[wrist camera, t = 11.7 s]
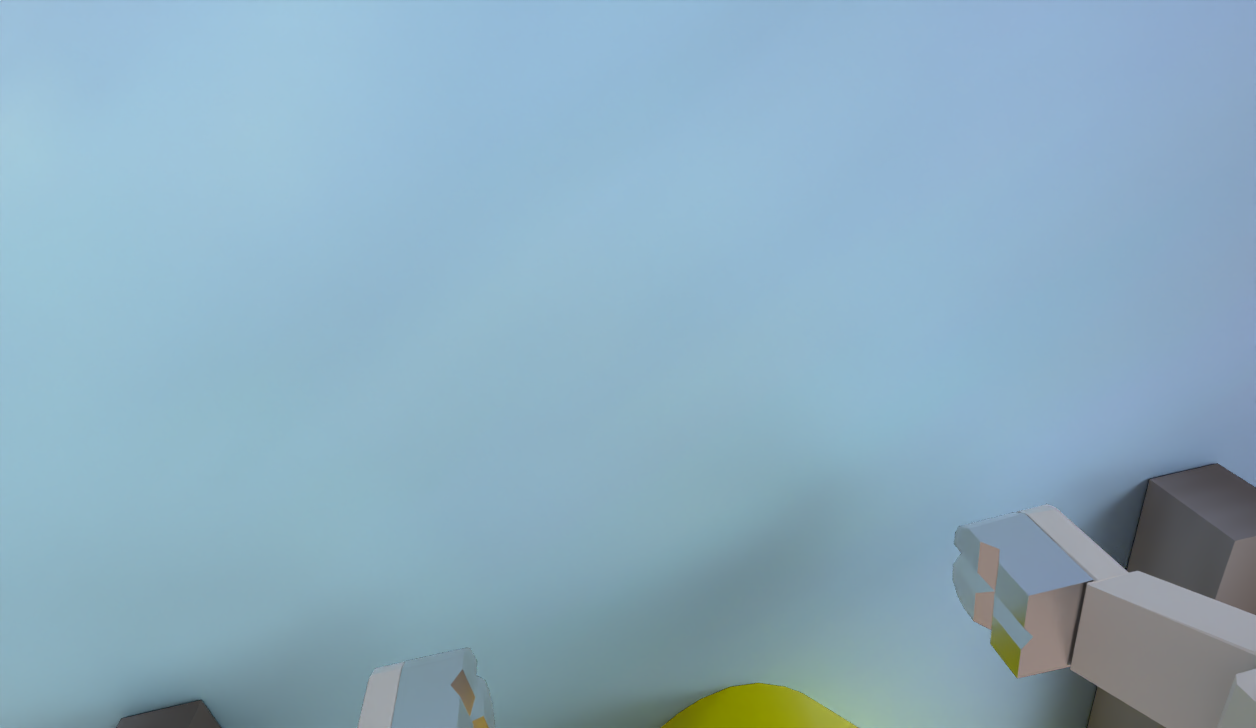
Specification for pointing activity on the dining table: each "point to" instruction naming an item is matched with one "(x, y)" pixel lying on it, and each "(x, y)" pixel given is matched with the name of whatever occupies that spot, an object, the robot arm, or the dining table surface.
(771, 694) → the element tile
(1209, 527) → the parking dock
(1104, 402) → the dining table surface
